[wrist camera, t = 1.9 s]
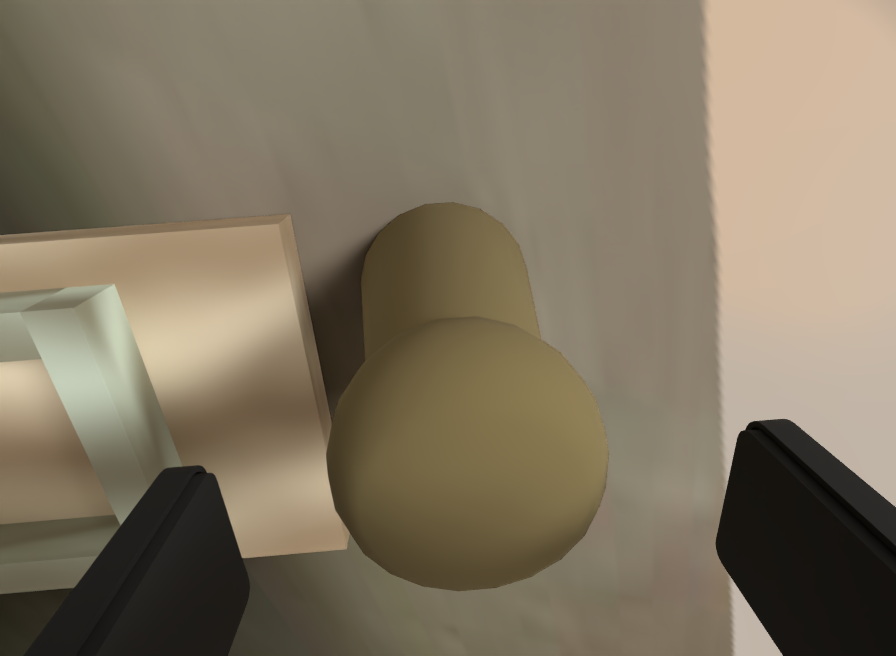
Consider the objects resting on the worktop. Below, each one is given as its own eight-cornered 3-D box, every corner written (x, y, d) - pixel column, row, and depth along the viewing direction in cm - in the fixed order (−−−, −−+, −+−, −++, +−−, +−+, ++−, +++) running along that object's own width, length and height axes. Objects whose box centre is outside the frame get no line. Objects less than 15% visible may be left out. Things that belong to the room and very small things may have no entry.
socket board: (-387, 263, 16) (-589, 303, 13) (290, 213, 16) (258, 240, 13) (-141, 564, 22) (-237, 642, 19) (351, 521, 22) (339, 591, 19)
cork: (477, 167, 16) (570, 274, 6) (554, 311, 18) (713, 561, 8) (326, 259, 17) (194, 480, 7) (417, 385, 19) (414, 684, 9)
